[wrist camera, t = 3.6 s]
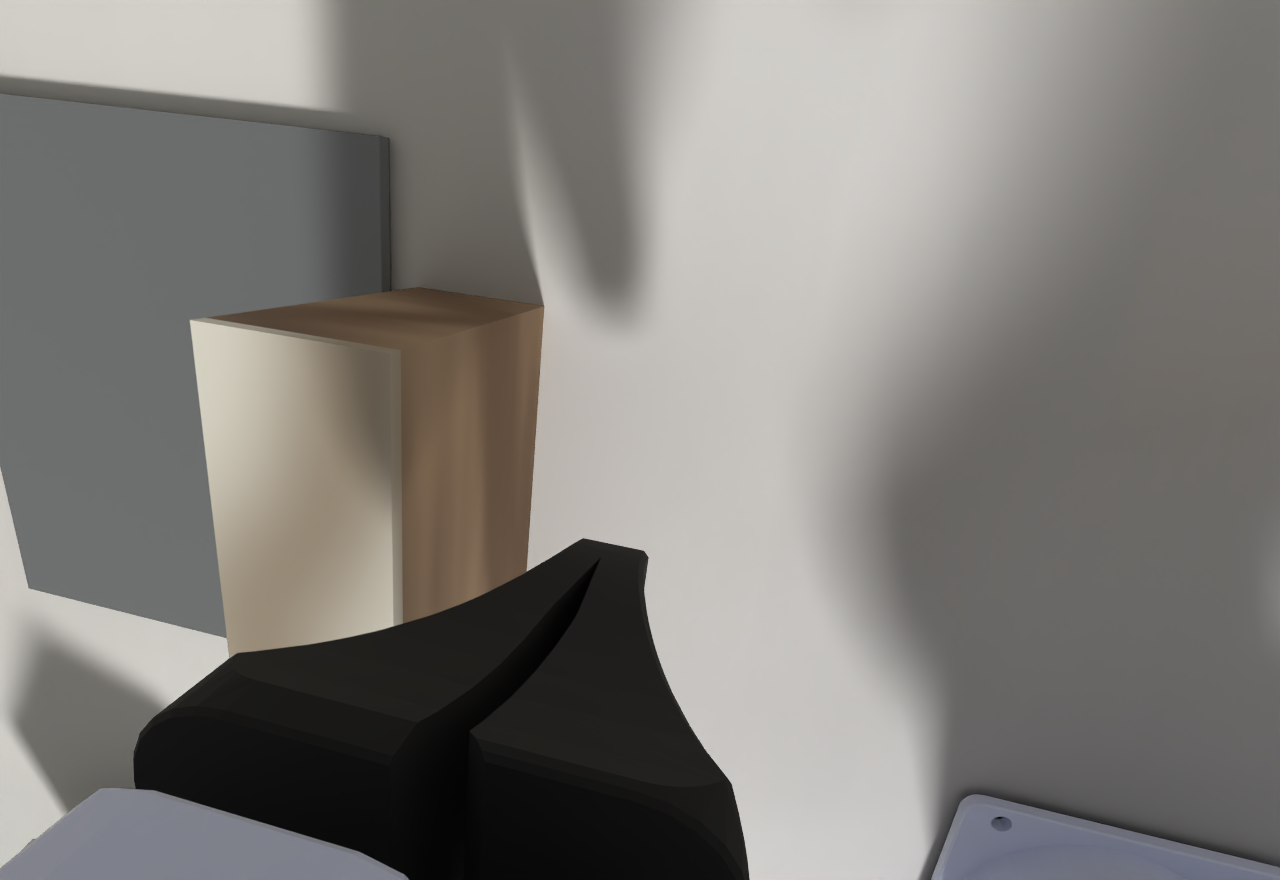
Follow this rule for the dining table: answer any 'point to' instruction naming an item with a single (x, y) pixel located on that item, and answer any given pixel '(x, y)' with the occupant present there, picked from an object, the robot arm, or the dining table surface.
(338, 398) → the two-tone wooden block
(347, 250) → the mat
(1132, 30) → the dining table surface
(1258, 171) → the dining table surface
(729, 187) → the dining table surface
